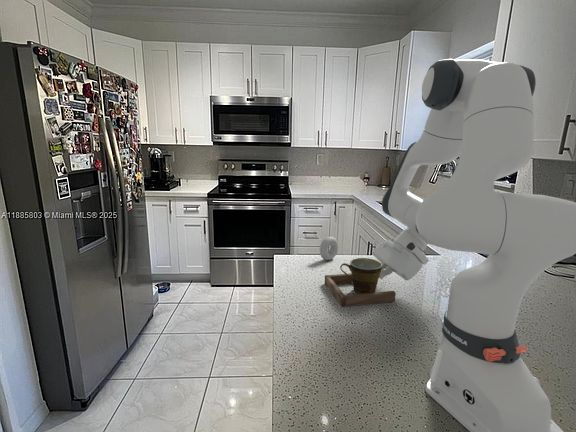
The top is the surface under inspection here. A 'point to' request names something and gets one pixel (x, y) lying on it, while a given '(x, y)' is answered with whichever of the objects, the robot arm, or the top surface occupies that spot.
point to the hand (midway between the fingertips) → (377, 276)
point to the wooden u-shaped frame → (355, 298)
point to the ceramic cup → (364, 274)
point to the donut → (324, 248)
